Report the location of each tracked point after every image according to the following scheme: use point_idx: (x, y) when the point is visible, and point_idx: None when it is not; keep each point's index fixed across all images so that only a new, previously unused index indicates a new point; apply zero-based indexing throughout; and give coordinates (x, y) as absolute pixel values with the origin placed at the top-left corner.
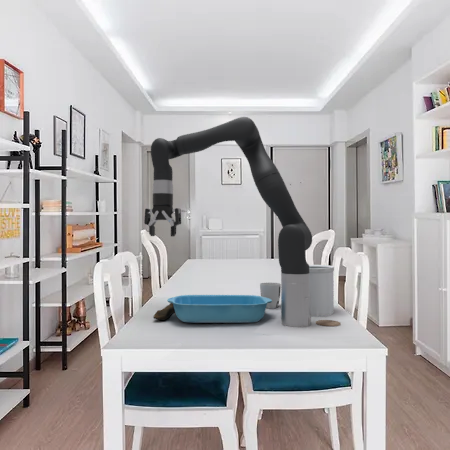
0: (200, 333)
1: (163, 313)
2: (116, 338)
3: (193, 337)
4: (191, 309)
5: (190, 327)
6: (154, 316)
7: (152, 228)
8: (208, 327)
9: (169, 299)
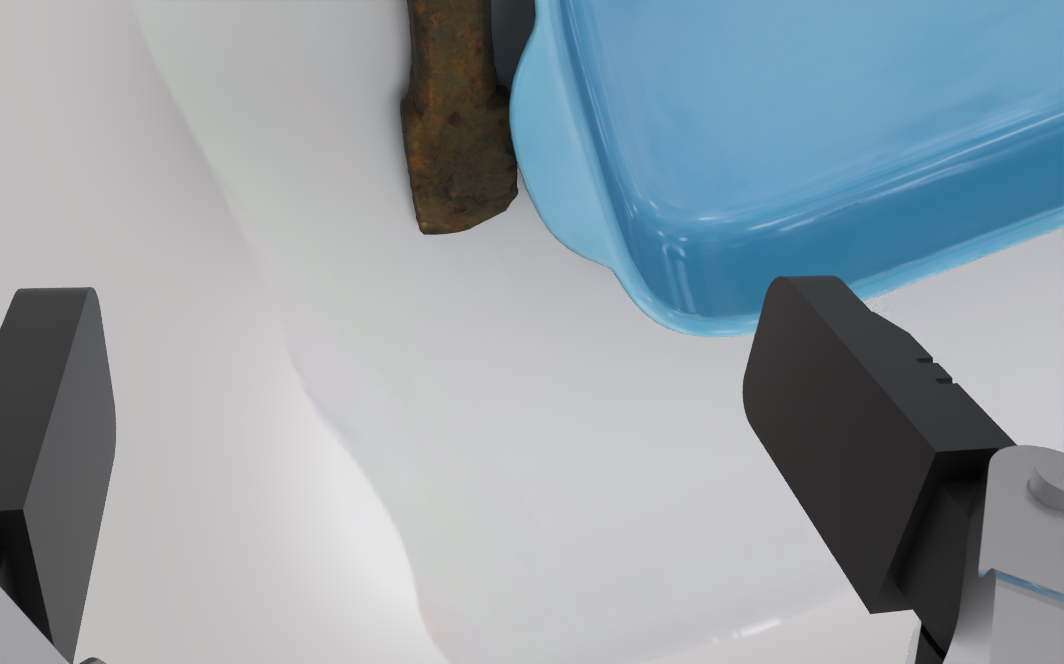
0: None
1: (490, 188)
2: (434, 611)
3: None
4: None
5: None
6: (427, 226)
7: (70, 591)
8: None
9: (552, 194)
